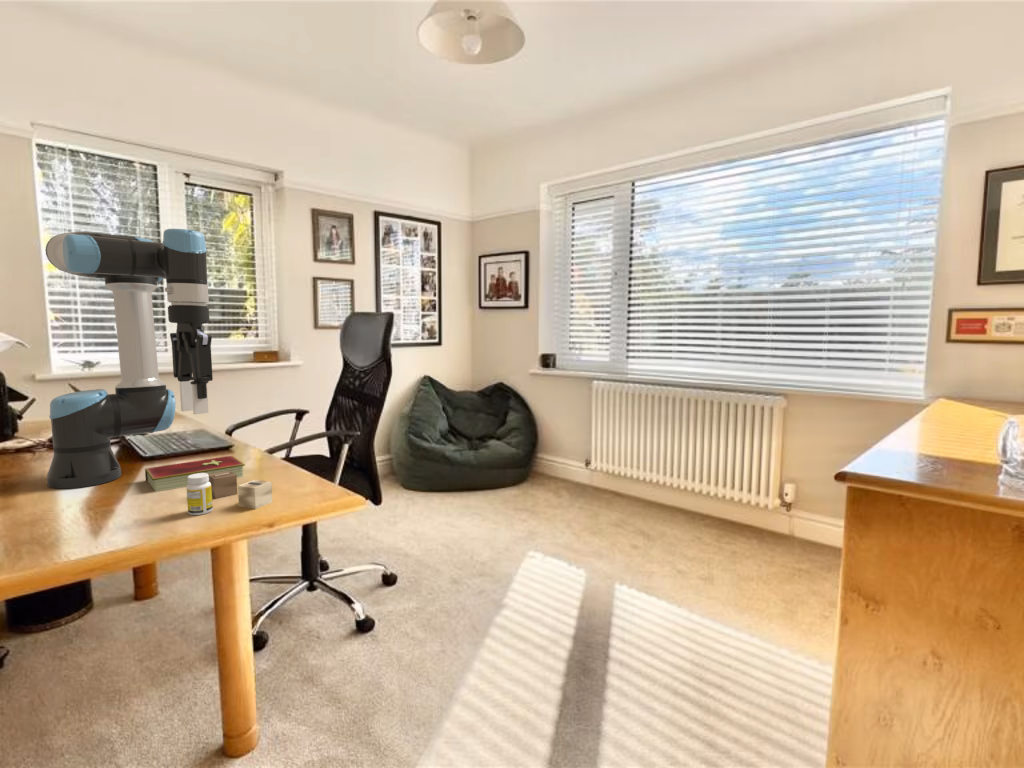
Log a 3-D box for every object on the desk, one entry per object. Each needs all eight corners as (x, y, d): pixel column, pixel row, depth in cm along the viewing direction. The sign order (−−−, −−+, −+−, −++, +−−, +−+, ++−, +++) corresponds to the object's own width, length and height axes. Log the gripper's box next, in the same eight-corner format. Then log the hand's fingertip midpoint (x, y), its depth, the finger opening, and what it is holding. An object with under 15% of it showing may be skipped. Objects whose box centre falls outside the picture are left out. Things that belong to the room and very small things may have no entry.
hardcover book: (145, 482, 139) (144, 467, 138) (232, 468, 153) (232, 454, 152) (153, 494, 130) (152, 477, 129) (245, 478, 144) (244, 463, 144)
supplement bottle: (207, 506, 121) (205, 471, 120) (216, 511, 118) (214, 475, 117) (184, 512, 117) (182, 475, 116) (192, 517, 114) (190, 480, 113)
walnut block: (208, 494, 130) (207, 474, 129) (230, 489, 133) (229, 470, 133) (215, 499, 126) (214, 478, 125) (237, 494, 130) (236, 474, 129)
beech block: (238, 506, 122) (237, 485, 121) (256, 499, 126) (255, 479, 126) (255, 509, 120) (254, 487, 119) (272, 502, 125) (271, 481, 124)
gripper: (150, 304, 114) (157, 409, 117) (189, 303, 104) (196, 419, 107) (187, 305, 120) (193, 405, 123) (227, 305, 110) (233, 414, 113)
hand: (194, 411), depth 115 cm, fingers open, 5 cm apart
